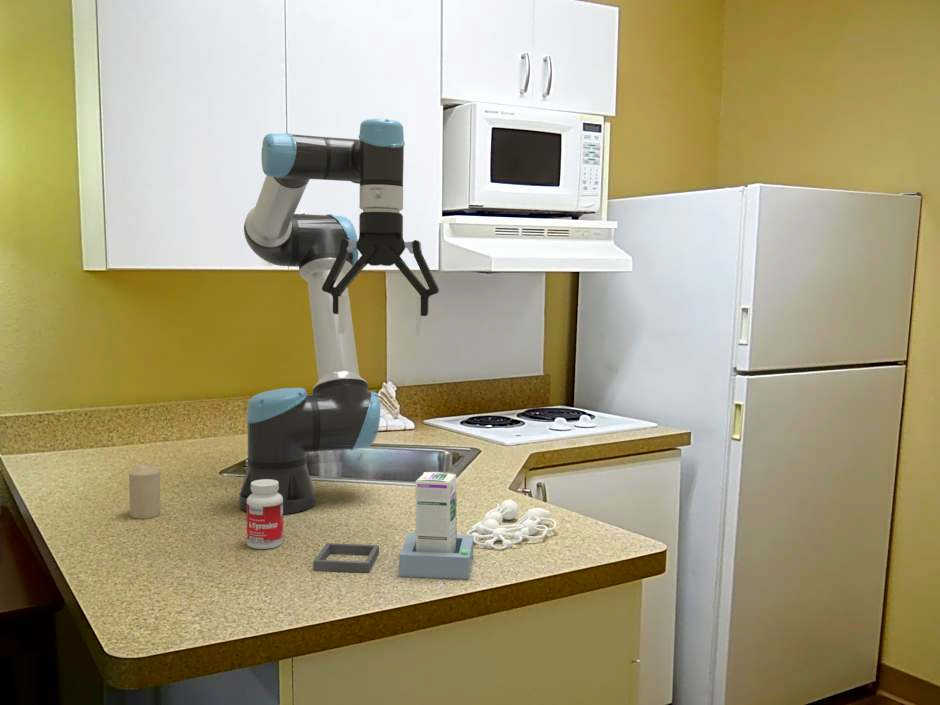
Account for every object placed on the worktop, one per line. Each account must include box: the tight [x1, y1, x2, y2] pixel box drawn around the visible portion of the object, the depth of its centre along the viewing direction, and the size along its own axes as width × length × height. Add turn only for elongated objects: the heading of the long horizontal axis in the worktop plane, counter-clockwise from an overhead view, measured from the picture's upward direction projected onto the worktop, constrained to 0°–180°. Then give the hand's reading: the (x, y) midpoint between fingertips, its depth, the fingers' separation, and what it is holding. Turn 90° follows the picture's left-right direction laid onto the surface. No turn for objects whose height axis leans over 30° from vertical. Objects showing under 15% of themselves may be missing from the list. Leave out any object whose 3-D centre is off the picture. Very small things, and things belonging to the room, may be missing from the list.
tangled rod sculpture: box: [466, 499, 558, 551], centre depth 154 cm, size 19×14×4 cm
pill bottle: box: [246, 479, 284, 550], centre depth 146 cm, size 6×6×11 cm
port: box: [398, 532, 474, 580], centre depth 137 cm, size 11×11×4 cm
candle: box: [128, 462, 161, 520], centre depth 162 cm, size 6×6×10 cm
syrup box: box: [415, 471, 457, 553], centre depth 137 cm, size 6×6×14 cm
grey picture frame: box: [312, 542, 380, 574], centre depth 139 cm, size 9×9×2 cm
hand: (380, 334), depth 148 cm, fingers open, 13 cm apart
